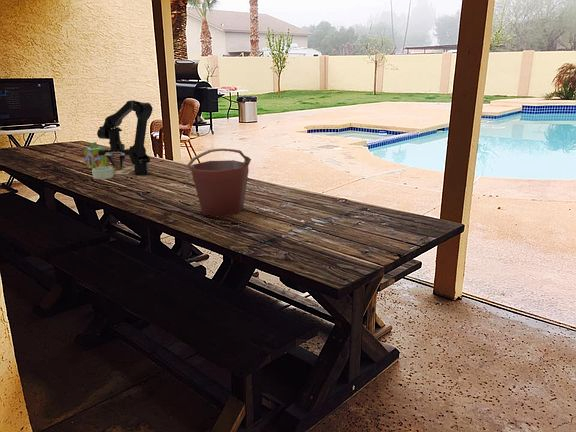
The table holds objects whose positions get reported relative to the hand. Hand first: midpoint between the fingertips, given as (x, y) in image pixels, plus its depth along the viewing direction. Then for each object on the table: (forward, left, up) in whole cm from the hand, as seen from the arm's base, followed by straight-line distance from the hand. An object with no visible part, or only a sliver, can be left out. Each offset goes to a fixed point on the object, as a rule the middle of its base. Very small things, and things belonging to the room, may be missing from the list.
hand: (118, 167), depth 273 cm
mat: (0, 0, -3) cm, 3 cm away
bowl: (+3, +15, -3) cm, 16 cm away
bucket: (-71, +82, -3) cm, 108 cm away
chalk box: (+18, -14, -3) cm, 23 cm away
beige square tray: (0, 0, -2) cm, 2 cm away
